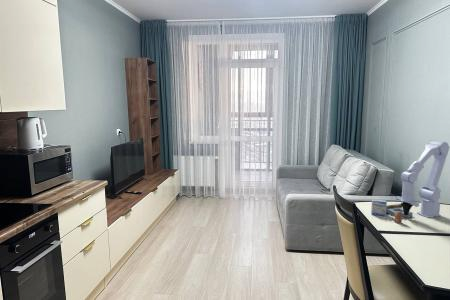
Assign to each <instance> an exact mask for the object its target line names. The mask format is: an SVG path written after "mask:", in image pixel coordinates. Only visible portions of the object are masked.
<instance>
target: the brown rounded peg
mask: <svg viewBox="0 0 450 300" xmlns="http://www.w3.org/2000/svg"><path fill="white" fill-rule="evenodd" d="M402 219H403V218H402V212H400V211H395V217H394V223H395V224H402V221H403V220H402Z"/></svg>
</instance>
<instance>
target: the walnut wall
mask: <svg viewBox="0 0 450 300" xmlns="http://www.w3.org/2000/svg"><path fill="white" fill-rule="evenodd" d="M397 207H400V208H402V209H403V207H402V205H401V203H397V204H387V207H386V209H388V208H397Z"/></svg>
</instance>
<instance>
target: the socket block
mask: <svg viewBox="0 0 450 300" xmlns="http://www.w3.org/2000/svg"><path fill="white" fill-rule="evenodd" d="M395 211H400V212H402V219H403V218H412V217H413V213H414V212H412V211H409V214H408V215H404V210H403V207H402V208H400V207H397V208H388V209H386V214H387V213H388V214H387V215H389V214H390V216H392V217H394V218H395Z"/></svg>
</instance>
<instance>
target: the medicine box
mask: <svg viewBox="0 0 450 300" xmlns="http://www.w3.org/2000/svg"><path fill="white" fill-rule="evenodd" d="M387 205H388V203H387V200H383V199H374V198H372V199H371V209H370V210H371V211H370V213H371V215H372V216H379V215H380V216H381V217H382V216H383V217H386V216H387V213H386V207H387ZM380 216H379V217H380Z"/></svg>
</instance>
